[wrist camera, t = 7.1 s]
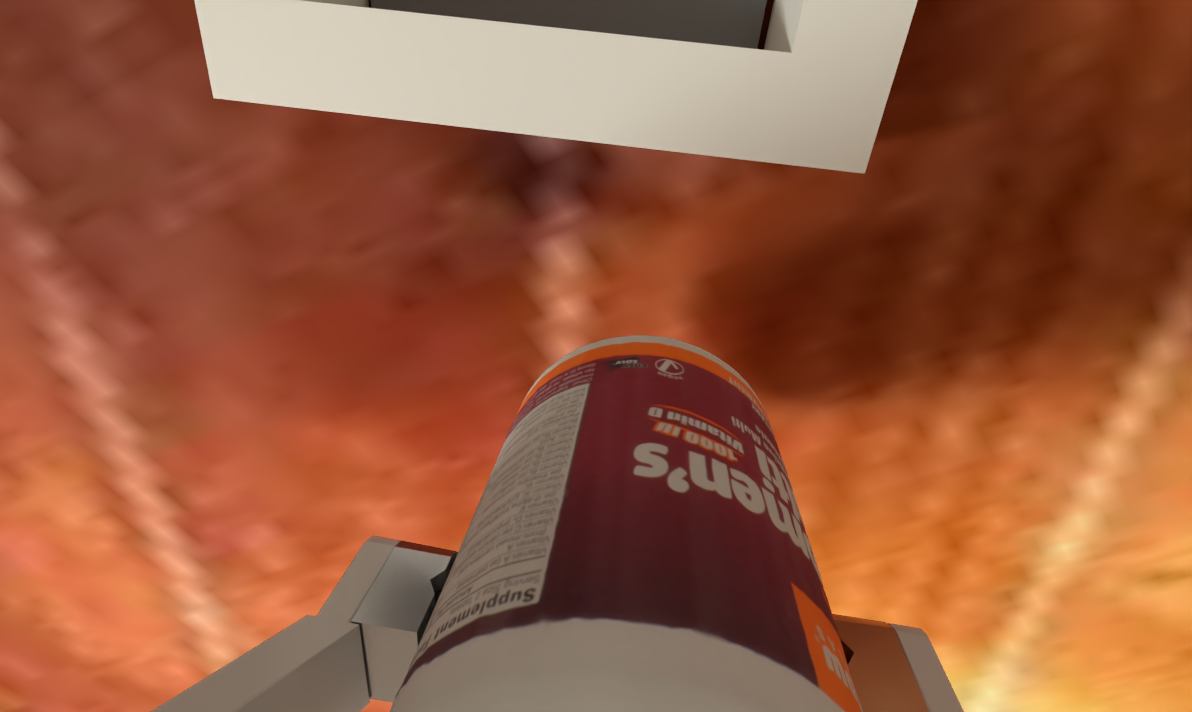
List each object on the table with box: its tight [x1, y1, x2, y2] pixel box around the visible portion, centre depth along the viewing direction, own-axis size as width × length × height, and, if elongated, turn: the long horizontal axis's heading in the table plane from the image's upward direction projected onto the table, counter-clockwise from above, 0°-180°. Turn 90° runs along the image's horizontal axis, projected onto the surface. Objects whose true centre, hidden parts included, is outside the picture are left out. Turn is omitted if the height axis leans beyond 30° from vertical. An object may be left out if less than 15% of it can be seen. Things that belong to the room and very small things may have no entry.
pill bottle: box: [390, 335, 863, 712], centre depth 9 cm, size 6×6×11 cm
